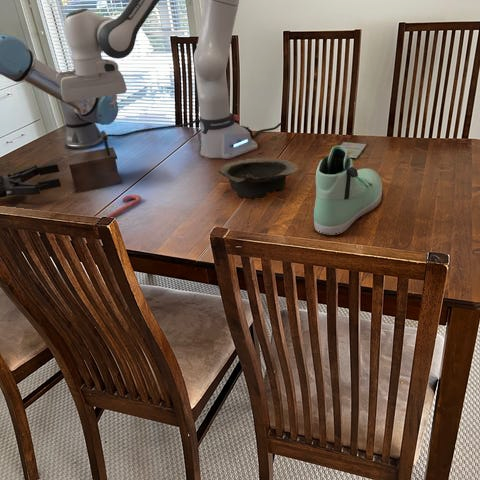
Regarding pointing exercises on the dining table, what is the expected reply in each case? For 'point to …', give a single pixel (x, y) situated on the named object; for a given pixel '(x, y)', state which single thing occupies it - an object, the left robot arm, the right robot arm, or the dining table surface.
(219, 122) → the right robot arm
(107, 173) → the chest
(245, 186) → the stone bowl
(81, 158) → the lid
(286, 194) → the dining table surface
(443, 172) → the dining table surface
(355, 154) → the baking ingredient package
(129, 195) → the candy cane
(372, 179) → the sneaker
